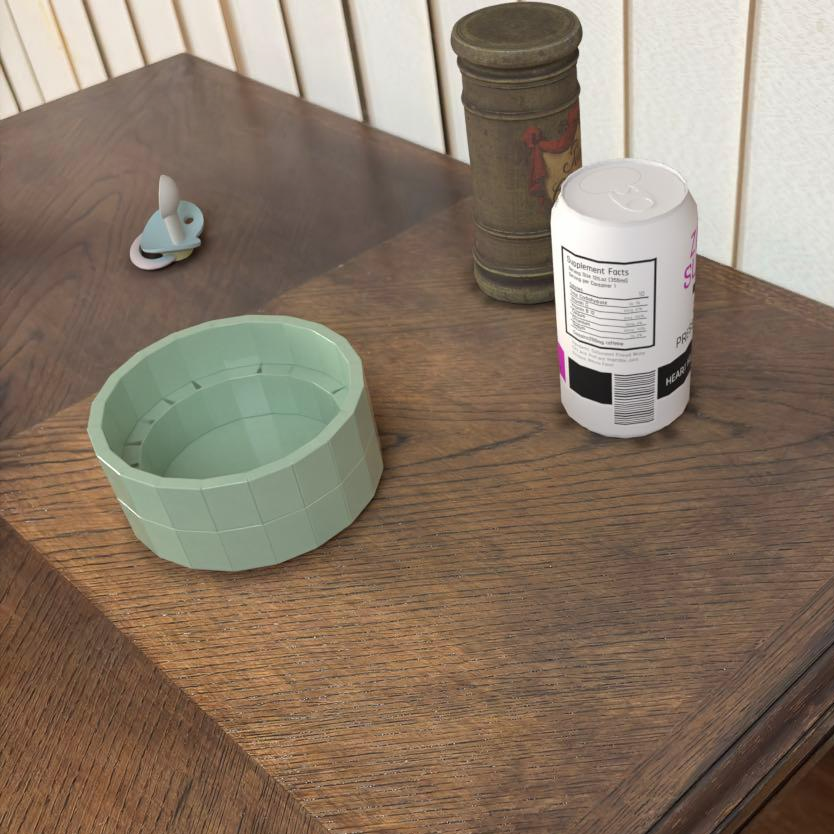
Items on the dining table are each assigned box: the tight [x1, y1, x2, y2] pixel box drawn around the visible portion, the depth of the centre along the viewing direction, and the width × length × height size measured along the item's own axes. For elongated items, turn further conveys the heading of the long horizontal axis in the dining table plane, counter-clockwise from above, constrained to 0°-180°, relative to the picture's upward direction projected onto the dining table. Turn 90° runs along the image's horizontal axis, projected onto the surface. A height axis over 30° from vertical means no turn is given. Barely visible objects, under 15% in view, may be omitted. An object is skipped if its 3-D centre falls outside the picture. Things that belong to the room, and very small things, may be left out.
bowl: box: [86, 314, 384, 573], centre depth 63 cm, size 16×16×7 cm
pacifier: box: [129, 174, 205, 271], centre depth 84 cm, size 7×6×6 cm
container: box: [450, 1, 584, 305], centre depth 74 cm, size 9×9×18 cm
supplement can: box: [551, 157, 699, 439], centre depth 64 cm, size 8×8×15 cm
